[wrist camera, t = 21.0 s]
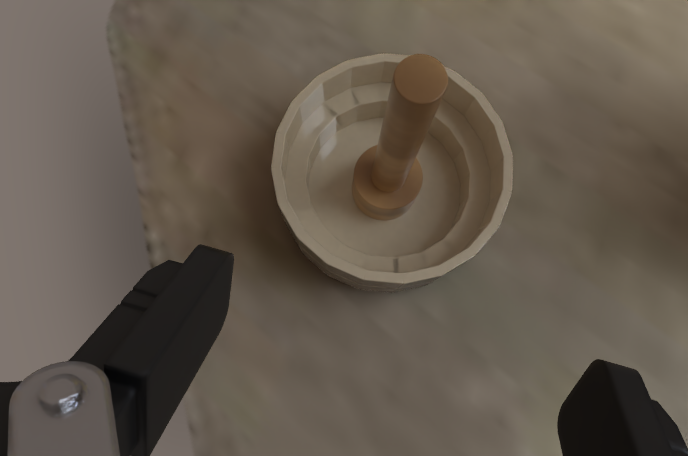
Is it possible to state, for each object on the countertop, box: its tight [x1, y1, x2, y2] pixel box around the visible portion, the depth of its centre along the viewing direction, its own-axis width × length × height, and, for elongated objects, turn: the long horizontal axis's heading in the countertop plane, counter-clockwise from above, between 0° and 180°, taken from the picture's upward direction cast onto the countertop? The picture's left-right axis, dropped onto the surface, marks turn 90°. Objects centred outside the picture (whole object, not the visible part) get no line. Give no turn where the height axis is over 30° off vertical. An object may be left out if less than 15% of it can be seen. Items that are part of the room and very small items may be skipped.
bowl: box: [271, 53, 513, 293], centre depth 32 cm, size 14×14×6 cm
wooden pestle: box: [352, 54, 448, 221], centre depth 27 cm, size 4×4×15 cm
